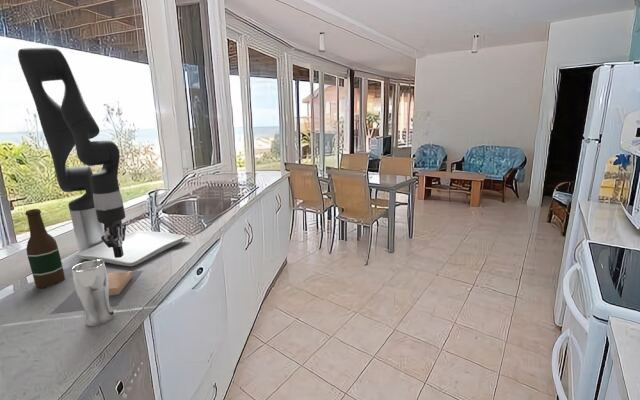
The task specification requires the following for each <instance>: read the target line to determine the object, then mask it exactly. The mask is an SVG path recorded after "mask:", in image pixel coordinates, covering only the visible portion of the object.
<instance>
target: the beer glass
mask: <svg viewBox="0 0 640 400" xmlns="http://www.w3.org/2000/svg"><path fill="white" fill-rule="evenodd" d="M107 273H108V271H107V268H106V265H105V262H104V261H103V260H86V261H83V262H80V263H77V264H75V265H74V266H73V267H72V268H71V274H72V281H73V286H74V289H75V290H76V292H77V295H78V297H79V299H80V301H81V303H82V305H83V307H84V310H83V311H84V314H85V319H84V321H85V326H87V327H98V326H101V325H105V324H107V323H108V322H110V321H111V320H112V319H113V318H114V316H115V314H114V312H113V308H112V307H110V303H109V279H108V274H107ZM75 290H74V291H75Z"/></svg>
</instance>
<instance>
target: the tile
mask: <svg viewBox="0 0 640 400" xmlns="http://www.w3.org/2000/svg"><path fill="white" fill-rule="evenodd" d="M132 271H133V270H126V271H117V272H107V274H108V279H109V296H116V295H119V294H120V292H121V291H122V290H123V289H124V287H125V286H126V285H127V284H128V282H129V281H130V280H131V279H132V277H133V276H132Z"/></svg>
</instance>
